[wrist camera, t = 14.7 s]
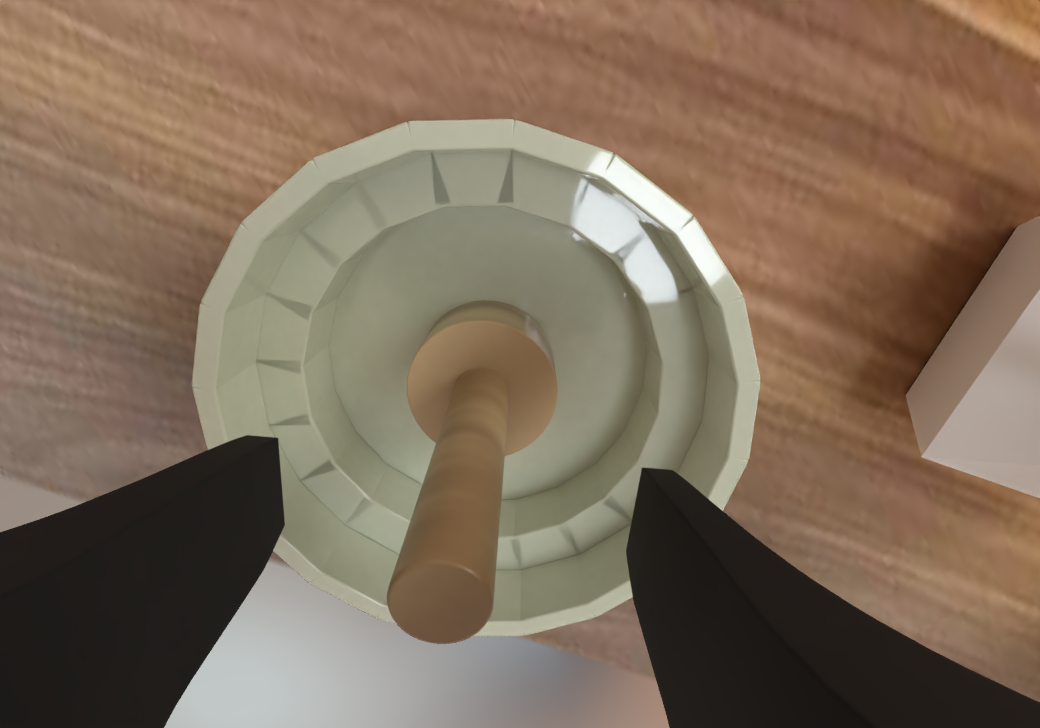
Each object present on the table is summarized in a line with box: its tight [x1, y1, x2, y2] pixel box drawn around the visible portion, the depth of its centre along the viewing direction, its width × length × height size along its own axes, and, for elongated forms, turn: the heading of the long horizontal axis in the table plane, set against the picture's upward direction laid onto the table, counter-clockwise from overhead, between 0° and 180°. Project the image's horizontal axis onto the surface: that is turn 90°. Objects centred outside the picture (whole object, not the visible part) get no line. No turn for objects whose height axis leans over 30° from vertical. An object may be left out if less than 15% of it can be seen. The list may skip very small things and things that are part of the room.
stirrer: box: [387, 301, 558, 644], centre depth 13 cm, size 4×4×10 cm
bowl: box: [192, 119, 761, 636], centre depth 16 cm, size 14×14×5 cm
